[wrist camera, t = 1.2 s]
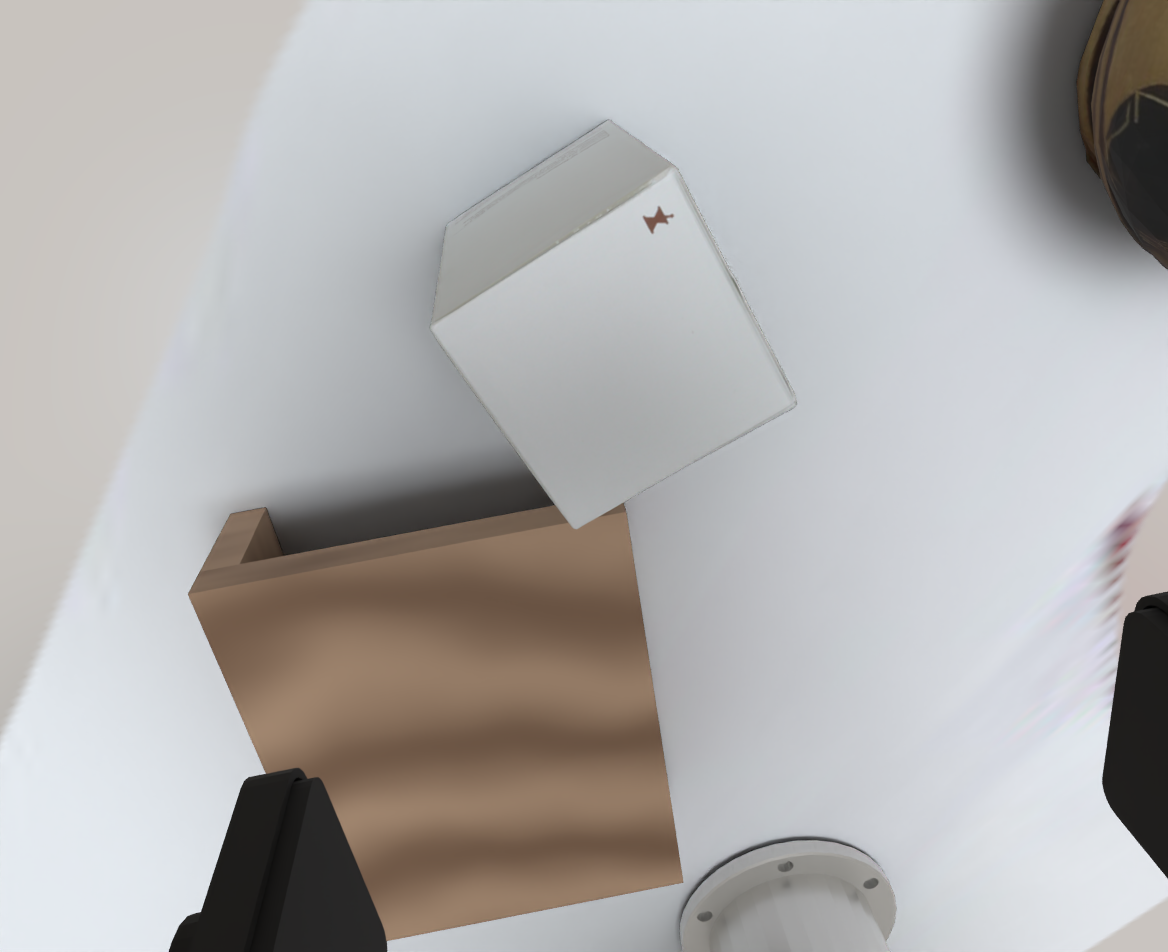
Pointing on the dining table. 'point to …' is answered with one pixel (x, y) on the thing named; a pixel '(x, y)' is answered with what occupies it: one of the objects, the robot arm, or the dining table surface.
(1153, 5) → the ceramic jug
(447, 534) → the walnut shelf
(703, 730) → the dining table surface
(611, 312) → the supplement box
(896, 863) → the dining table surface
